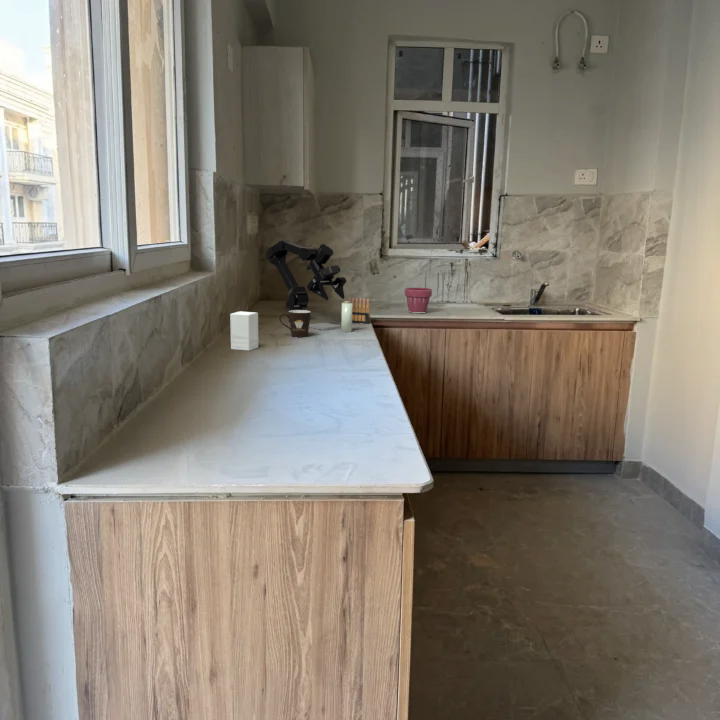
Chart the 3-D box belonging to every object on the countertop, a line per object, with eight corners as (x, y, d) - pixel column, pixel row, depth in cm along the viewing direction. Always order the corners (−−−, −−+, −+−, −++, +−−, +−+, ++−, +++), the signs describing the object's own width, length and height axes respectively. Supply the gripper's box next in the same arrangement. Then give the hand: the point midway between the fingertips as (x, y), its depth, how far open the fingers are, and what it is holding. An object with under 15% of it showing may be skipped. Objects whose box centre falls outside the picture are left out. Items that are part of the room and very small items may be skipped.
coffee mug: (314, 336, 246) (314, 311, 244) (303, 339, 238) (303, 313, 236) (289, 333, 250) (289, 308, 248) (277, 336, 243) (278, 311, 241)
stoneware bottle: (341, 332, 257) (341, 301, 255) (341, 330, 262) (341, 300, 259) (351, 332, 257) (352, 302, 255) (351, 330, 262) (352, 300, 259)
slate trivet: (306, 326, 268) (306, 324, 267) (325, 324, 275) (325, 322, 275) (323, 330, 260) (323, 328, 260) (342, 328, 268) (342, 325, 267)
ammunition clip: (369, 323, 284) (370, 297, 281) (368, 324, 282) (369, 298, 280) (347, 322, 286) (347, 296, 284) (346, 322, 284) (346, 296, 282)
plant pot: (399, 312, 325) (400, 288, 322) (411, 310, 337) (412, 286, 334) (423, 315, 318) (424, 290, 315) (435, 312, 329) (436, 288, 327)
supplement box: (259, 347, 219) (259, 312, 216) (248, 351, 212) (248, 314, 209) (240, 345, 221) (240, 310, 218) (229, 349, 214) (229, 313, 211)
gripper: (311, 258, 256) (328, 287, 250) (344, 258, 269) (361, 285, 263) (299, 276, 263) (315, 304, 257) (331, 275, 276) (348, 302, 270)
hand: (335, 299), depth 262 cm, fingers open, 9 cm apart
